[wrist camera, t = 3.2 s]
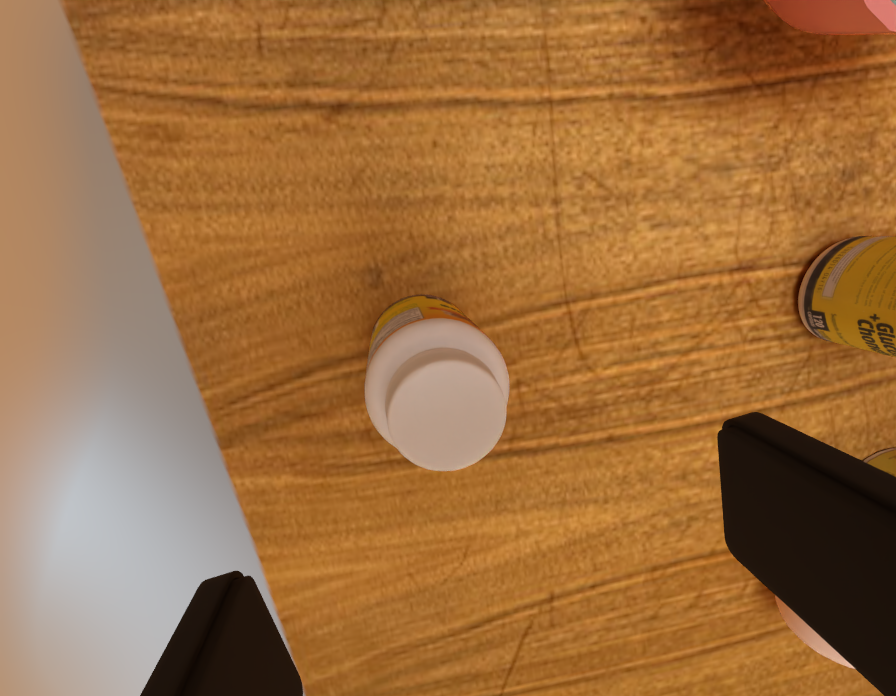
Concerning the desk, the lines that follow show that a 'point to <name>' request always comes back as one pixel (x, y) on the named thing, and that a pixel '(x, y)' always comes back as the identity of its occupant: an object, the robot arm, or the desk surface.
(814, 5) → the cell model
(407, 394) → the supplement bottle
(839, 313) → the pill bottle
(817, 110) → the desk surface
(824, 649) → the egg
